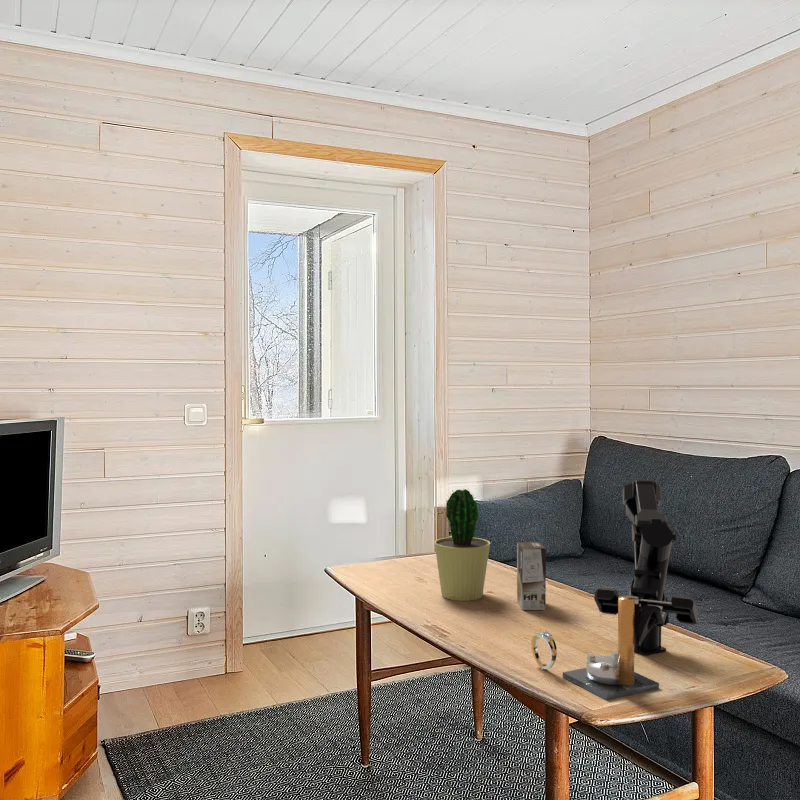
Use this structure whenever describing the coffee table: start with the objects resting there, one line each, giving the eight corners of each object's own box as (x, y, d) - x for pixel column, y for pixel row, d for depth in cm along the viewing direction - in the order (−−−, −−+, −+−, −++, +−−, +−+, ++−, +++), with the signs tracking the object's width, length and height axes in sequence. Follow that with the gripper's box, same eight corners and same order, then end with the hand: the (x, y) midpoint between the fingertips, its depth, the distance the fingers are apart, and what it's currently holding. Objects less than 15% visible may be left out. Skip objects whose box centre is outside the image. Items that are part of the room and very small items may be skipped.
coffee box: (546, 610, 211) (546, 548, 210) (521, 610, 211) (521, 548, 210) (540, 600, 220) (540, 541, 219) (516, 600, 220) (516, 541, 219)
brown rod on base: (578, 670, 164) (579, 586, 163) (618, 666, 166) (619, 583, 166) (608, 692, 152) (608, 602, 152) (651, 687, 154) (652, 598, 154)
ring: (559, 673, 165) (559, 634, 165) (546, 675, 164) (546, 636, 164) (541, 662, 172) (541, 625, 172) (528, 664, 171) (528, 626, 171)
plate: (613, 667, 169) (613, 661, 169) (658, 688, 158) (658, 682, 158) (562, 677, 163) (562, 671, 163) (606, 700, 152) (606, 694, 152)
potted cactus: (489, 588, 232) (490, 483, 232) (490, 603, 217) (490, 491, 216) (435, 587, 234) (435, 483, 233) (432, 602, 219) (432, 490, 218)
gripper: (705, 600, 163) (696, 673, 154) (613, 590, 173) (598, 658, 163) (697, 570, 156) (686, 644, 147) (601, 561, 166) (585, 630, 156)
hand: (637, 645), depth 154 cm, fingers closed
